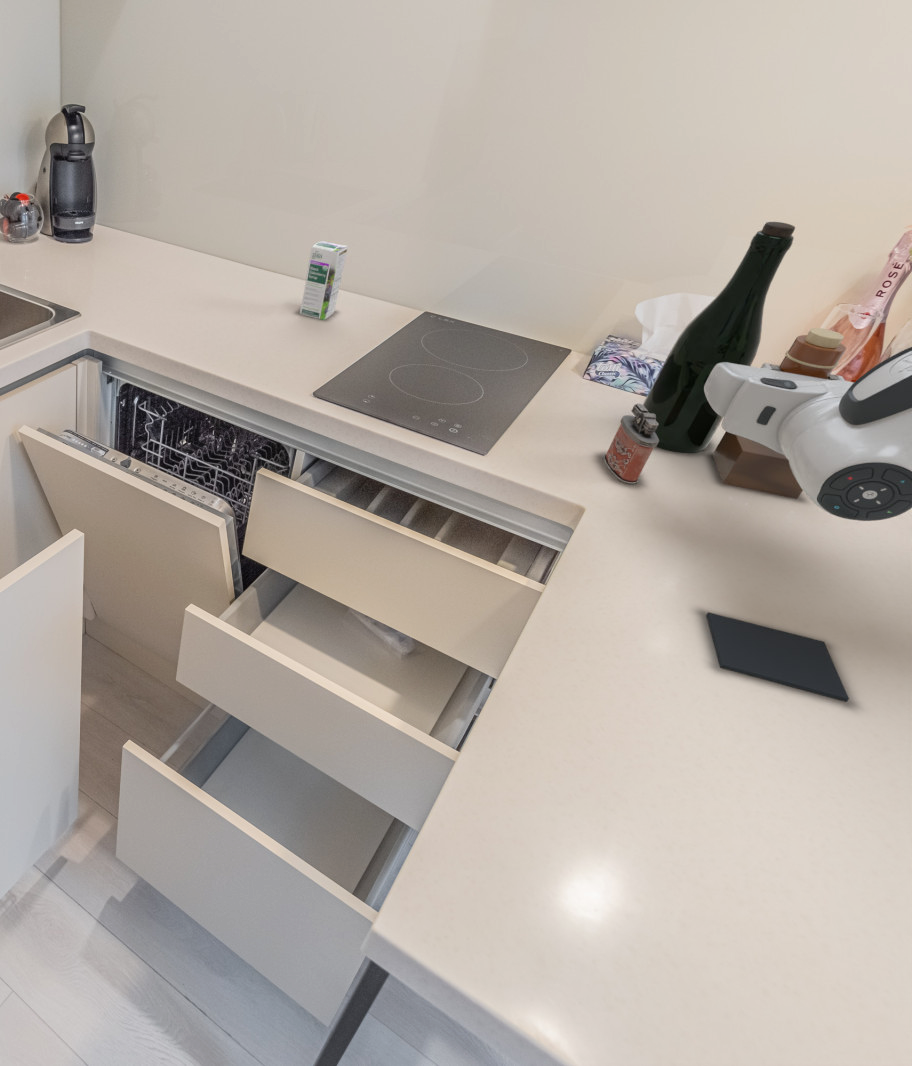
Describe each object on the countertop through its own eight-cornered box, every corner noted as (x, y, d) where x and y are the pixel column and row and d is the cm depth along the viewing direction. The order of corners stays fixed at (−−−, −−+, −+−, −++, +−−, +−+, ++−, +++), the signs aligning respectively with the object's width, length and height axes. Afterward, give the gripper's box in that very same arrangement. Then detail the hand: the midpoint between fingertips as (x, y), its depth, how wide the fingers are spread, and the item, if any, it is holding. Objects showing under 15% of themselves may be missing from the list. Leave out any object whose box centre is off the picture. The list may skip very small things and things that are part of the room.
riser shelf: (779, 471, 114) (802, 436, 110) (795, 502, 107) (819, 465, 103) (710, 457, 116) (730, 423, 113) (721, 486, 110) (742, 450, 106)
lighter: (641, 488, 109) (673, 427, 103) (616, 486, 109) (647, 425, 103) (620, 460, 115) (649, 400, 109) (596, 457, 116) (624, 398, 110)
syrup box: (298, 316, 160) (310, 245, 152) (309, 308, 164) (322, 239, 155) (323, 322, 158) (337, 251, 149) (334, 314, 162) (349, 244, 153)
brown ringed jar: (785, 410, 98) (837, 326, 91) (808, 429, 94) (864, 343, 87) (742, 406, 98) (791, 323, 92) (763, 425, 94) (816, 339, 88)
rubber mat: (818, 647, 84) (824, 641, 83) (843, 705, 77) (849, 699, 76) (703, 618, 87) (708, 611, 87) (717, 671, 81) (722, 664, 80)
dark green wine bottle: (720, 449, 119) (848, 230, 99) (674, 461, 115) (797, 238, 95) (659, 419, 126) (767, 210, 106) (614, 429, 123) (717, 216, 103)
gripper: (967, 418, 78) (920, 368, 88) (734, 377, 85) (715, 335, 95) (926, 470, 82) (885, 416, 92) (706, 427, 88) (691, 381, 99)
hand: (797, 374), depth 93 cm, fingers closed on brown ringed jar, 5 cm apart
